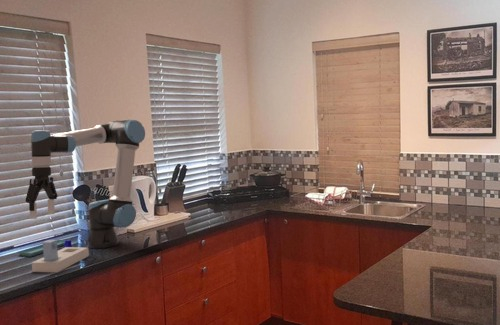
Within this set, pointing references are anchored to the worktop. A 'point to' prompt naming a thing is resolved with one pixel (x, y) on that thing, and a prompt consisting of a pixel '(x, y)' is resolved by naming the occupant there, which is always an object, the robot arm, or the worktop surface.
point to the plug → (50, 250)
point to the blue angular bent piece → (67, 243)
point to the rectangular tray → (38, 249)
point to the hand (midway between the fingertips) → (42, 216)
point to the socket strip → (61, 260)
